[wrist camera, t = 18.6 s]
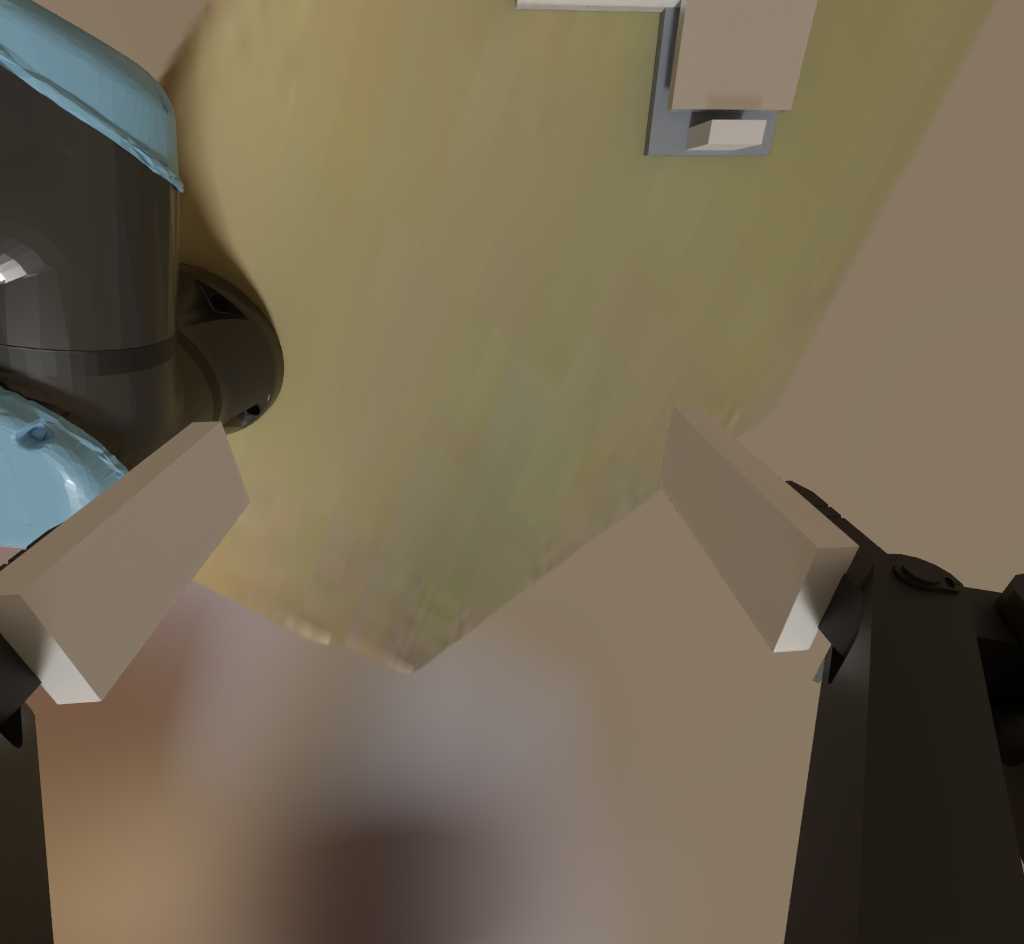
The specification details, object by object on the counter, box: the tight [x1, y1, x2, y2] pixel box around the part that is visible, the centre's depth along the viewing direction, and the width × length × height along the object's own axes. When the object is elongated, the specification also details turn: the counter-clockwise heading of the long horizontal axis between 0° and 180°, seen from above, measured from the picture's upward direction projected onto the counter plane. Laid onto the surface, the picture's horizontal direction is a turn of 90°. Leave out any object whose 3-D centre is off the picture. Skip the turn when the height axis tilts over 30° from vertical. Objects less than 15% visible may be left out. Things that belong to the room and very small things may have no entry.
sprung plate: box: [667, 0, 818, 113], centre depth 31 cm, size 9×9×1 cm
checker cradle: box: [644, 7, 778, 156], centre depth 32 cm, size 10×14×5 cm
